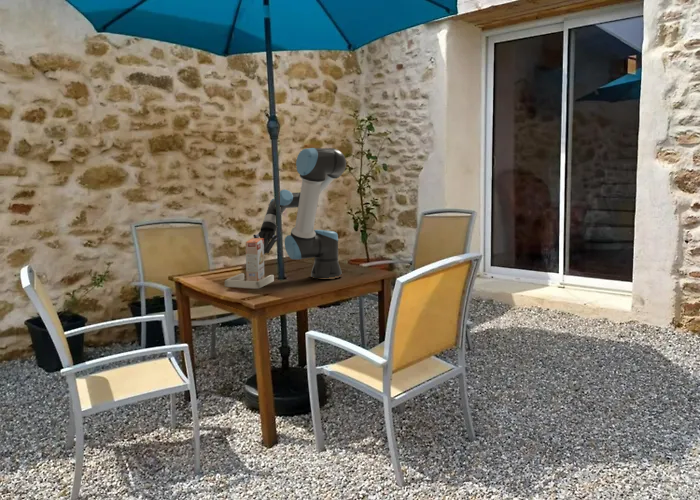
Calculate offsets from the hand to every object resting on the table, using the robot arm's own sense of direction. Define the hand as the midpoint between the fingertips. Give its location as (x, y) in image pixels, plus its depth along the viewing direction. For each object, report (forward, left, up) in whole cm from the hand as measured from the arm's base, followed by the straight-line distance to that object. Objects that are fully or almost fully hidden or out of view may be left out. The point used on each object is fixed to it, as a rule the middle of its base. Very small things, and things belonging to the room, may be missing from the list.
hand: (256, 263), depth 281 cm
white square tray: (0, +8, -8) cm, 12 cm away
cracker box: (-3, +8, -8) cm, 12 cm away
